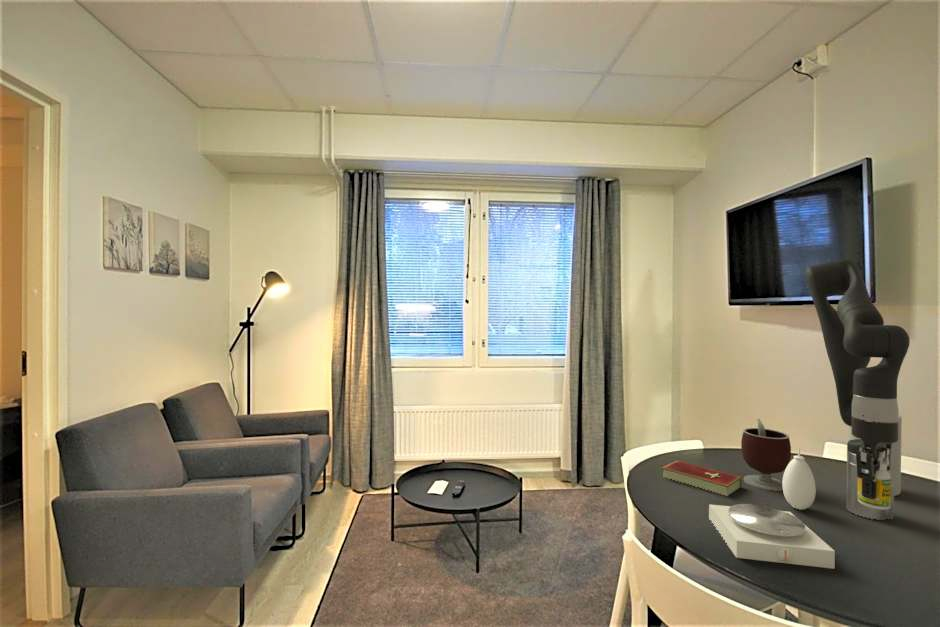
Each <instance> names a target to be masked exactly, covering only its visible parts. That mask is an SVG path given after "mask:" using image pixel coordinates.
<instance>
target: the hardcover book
mask: <svg viewBox="0 0 940 627" xmlns="http://www.w3.org/2000/svg"><path fill="white" fill-rule="evenodd" d="M661 469H662V470H663V471H662V472H663V473H662V475H663V477H665V478H664V479H666V478H668V479H667V480H670V479H672V480H671V481H673V480H675V481H674V482H676V481H679V482H678V483H680V482H682V483H681V484H683V483H686V484H685V485H687V484H689V485H688V486H690V485H692V486H691V487H693V486H695V488H697V487H699V488H698V489H700V488H702V489H701V490H703V489H705V490H704V491H707V490H709V491H708V492H710V491H712V492H711V493H714V492H715V493H714V494H717V493H718V494H717V495H720V494H721V496H724V495H725V496H724V497H728V496H730V495H732V493H734V492H735V491H736V490H738V489H742V476H739V475H735V474H730V473H726V472H723V471H719V470H715V469H711V468H708V467H703V466H699V465H696V464H692V463H691V464H690V463H687V462H683V461H680V460H675V461H673V462H671V463H669V464H666V465H665V466H662V467H661ZM663 477H662V478H663ZM729 494H730V495H729Z"/></svg>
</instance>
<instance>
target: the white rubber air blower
mask: <svg viewBox="0 0 940 627" xmlns="http://www.w3.org/2000/svg"><path fill="white" fill-rule="evenodd" d="M781 481H782V487H783V491H782V492H783V495H784V498H785V500H786V502H787V503H788V504H789V505H790V506H791V507H793V508H794V509H795V508H796V510H797V509H799V511H803V510H806V509H807V508H810V507H811V506H812V505H813V503H814V501H815V499H816V494H817V493H816V482H815V477H814V474H813V472H812V470H811V468H810V466H809V464H808V463H807V461H806V459H805V457H804V456H802V455H801V448H800V447H798V452H797V455H793V459H790V462H789V464H788V466H787V467H786V469H785V470H784V471H783V475H782V480H781Z"/></svg>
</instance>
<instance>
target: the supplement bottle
mask: <svg viewBox="0 0 940 627" xmlns="http://www.w3.org/2000/svg"><path fill="white" fill-rule="evenodd" d="M873 466H877V465H873ZM886 469H887V463H886V462H884V461H882V469H881V471H880V472H878V475H877V481H876V482H877V494H876V498H875V499H870V498H866V497H864V496H863V495H862V479H861V478H858V501H859V502H860V503H861V504H863V505H865V506H867V507H871V508H875V509H882V510H884V509H889V508H890V506H891V476H890V474H889V473H888V472H886V471H885V470H886ZM865 473H866V474H869V471H868V470H866V472H865Z"/></svg>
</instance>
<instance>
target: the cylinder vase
mask: <svg viewBox="0 0 940 627" xmlns="http://www.w3.org/2000/svg"><path fill="white" fill-rule="evenodd" d="M902 419H903V418H902V415H900V414H899V416H898V441H897V442H894V443H892V448H891V459H890V476H891V484H892V485H893V486H894V495H897V496H899V495H900V494H901V491H902V490H901V489H902V487H901V486H902V484H901V483H902V481H901V479H902V478H901V477H902V473H901V472H902V423H903V422H902ZM851 430H852V427H851V426H849V436H848V437H849V440H848V441H850V440H854V439H860V438H857V437H855V436H853V435H852V433H851ZM898 494H899V495H898Z"/></svg>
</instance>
